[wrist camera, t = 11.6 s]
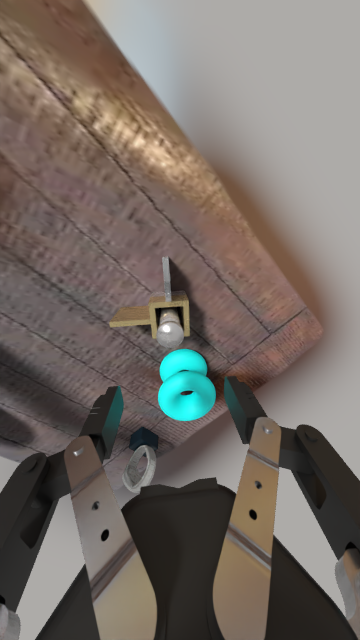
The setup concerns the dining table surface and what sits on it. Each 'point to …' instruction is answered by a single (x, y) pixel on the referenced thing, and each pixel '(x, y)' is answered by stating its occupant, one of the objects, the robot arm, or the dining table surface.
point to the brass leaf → (152, 313)
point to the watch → (142, 445)
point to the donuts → (185, 386)
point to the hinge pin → (169, 328)
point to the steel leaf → (167, 287)
